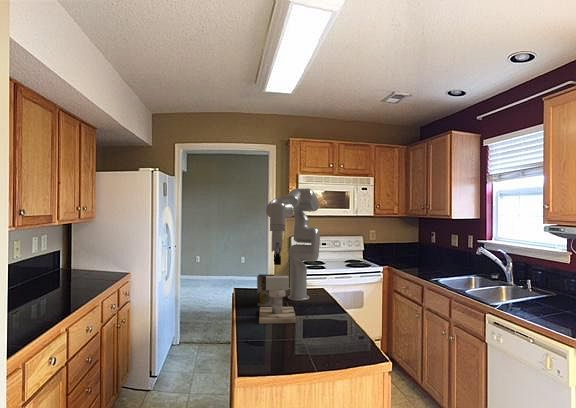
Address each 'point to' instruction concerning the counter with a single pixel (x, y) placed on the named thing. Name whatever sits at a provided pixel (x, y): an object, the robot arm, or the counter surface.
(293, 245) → the robot arm
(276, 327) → the counter surface
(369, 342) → the counter surface
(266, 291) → the coffee box
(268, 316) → the post base
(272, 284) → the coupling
